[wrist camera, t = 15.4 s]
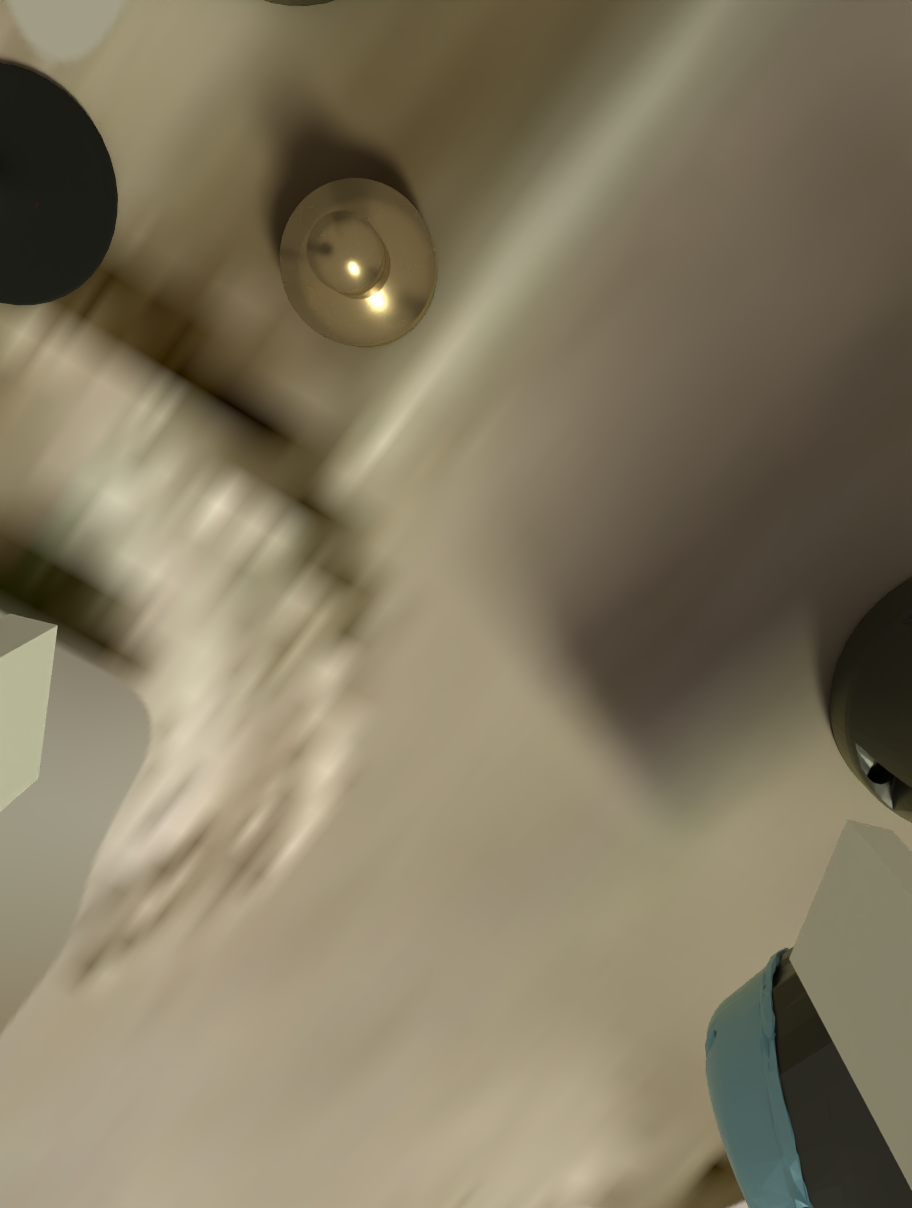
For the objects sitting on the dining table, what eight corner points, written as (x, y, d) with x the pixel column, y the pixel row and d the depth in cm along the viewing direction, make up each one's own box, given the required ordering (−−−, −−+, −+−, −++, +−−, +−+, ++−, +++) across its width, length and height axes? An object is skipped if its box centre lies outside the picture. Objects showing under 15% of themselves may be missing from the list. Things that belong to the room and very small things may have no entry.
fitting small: (451, 208, 38) (446, 177, 32) (421, 361, 40) (411, 359, 34) (303, 174, 38) (270, 136, 32) (280, 329, 40) (245, 322, 34)
